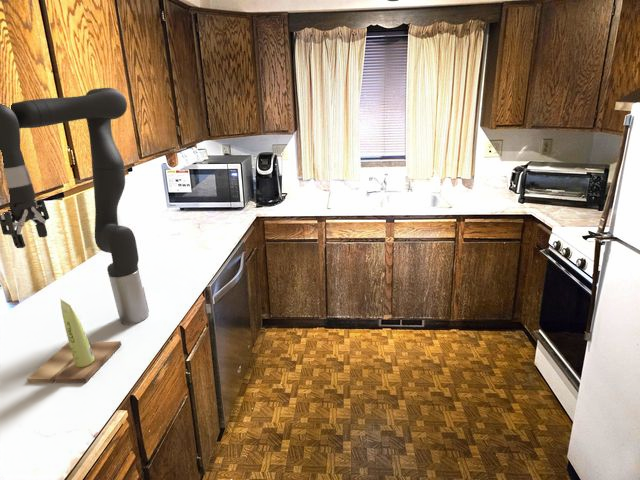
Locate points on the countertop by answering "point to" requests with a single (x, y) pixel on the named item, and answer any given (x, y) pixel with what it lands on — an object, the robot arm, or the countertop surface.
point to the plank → (84, 373)
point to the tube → (76, 337)
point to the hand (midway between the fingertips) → (32, 242)
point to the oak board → (53, 366)
